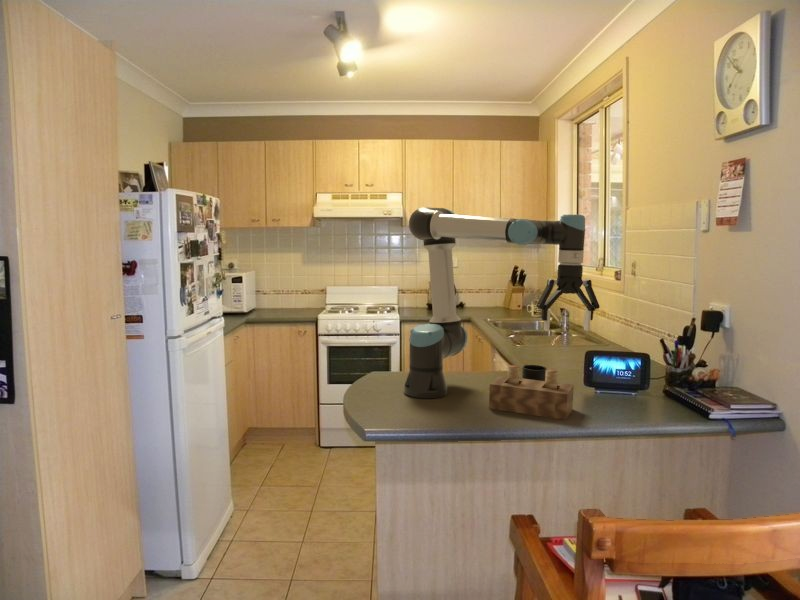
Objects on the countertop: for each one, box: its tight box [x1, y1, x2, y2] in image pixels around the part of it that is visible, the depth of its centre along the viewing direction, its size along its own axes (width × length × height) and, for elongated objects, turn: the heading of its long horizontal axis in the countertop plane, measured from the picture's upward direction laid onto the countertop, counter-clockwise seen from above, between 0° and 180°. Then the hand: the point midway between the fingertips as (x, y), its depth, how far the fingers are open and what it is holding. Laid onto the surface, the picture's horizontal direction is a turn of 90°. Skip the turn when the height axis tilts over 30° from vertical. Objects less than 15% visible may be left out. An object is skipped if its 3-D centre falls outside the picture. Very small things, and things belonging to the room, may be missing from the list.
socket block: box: [488, 375, 575, 421], centre depth 179 cm, size 24×12×8 cm, turn 64°
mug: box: [521, 364, 548, 381], centre depth 197 cm, size 8×12×10 cm
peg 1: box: [507, 365, 520, 385], centre depth 181 cm, size 4×4×8 cm
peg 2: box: [545, 369, 558, 390], centre depth 176 cm, size 4×4×8 cm
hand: (566, 330), depth 179 cm, fingers open, 13 cm apart
